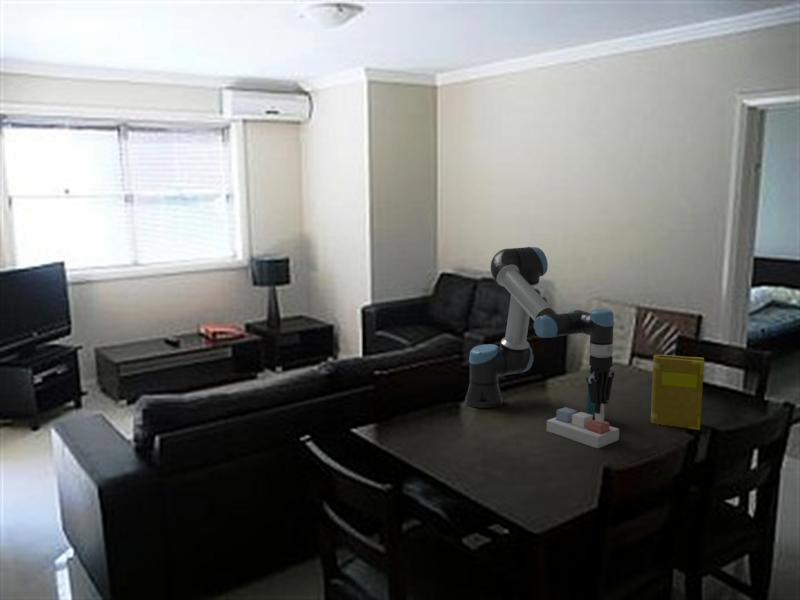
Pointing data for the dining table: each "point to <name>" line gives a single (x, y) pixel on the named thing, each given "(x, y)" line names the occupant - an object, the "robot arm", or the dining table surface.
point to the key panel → (582, 433)
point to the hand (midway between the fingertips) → (599, 421)
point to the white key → (581, 419)
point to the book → (677, 391)
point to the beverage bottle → (590, 406)
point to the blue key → (565, 414)
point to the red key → (598, 427)
